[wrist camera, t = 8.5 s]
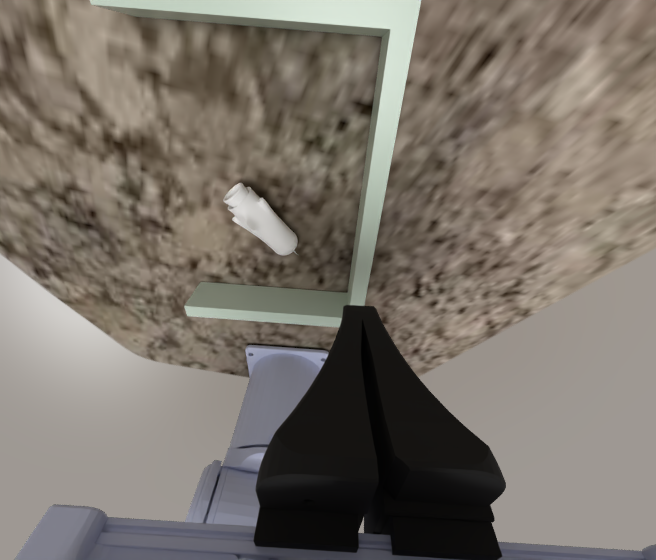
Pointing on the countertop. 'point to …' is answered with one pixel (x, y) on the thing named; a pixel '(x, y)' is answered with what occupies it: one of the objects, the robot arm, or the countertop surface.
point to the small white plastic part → (260, 219)
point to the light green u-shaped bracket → (396, 46)
